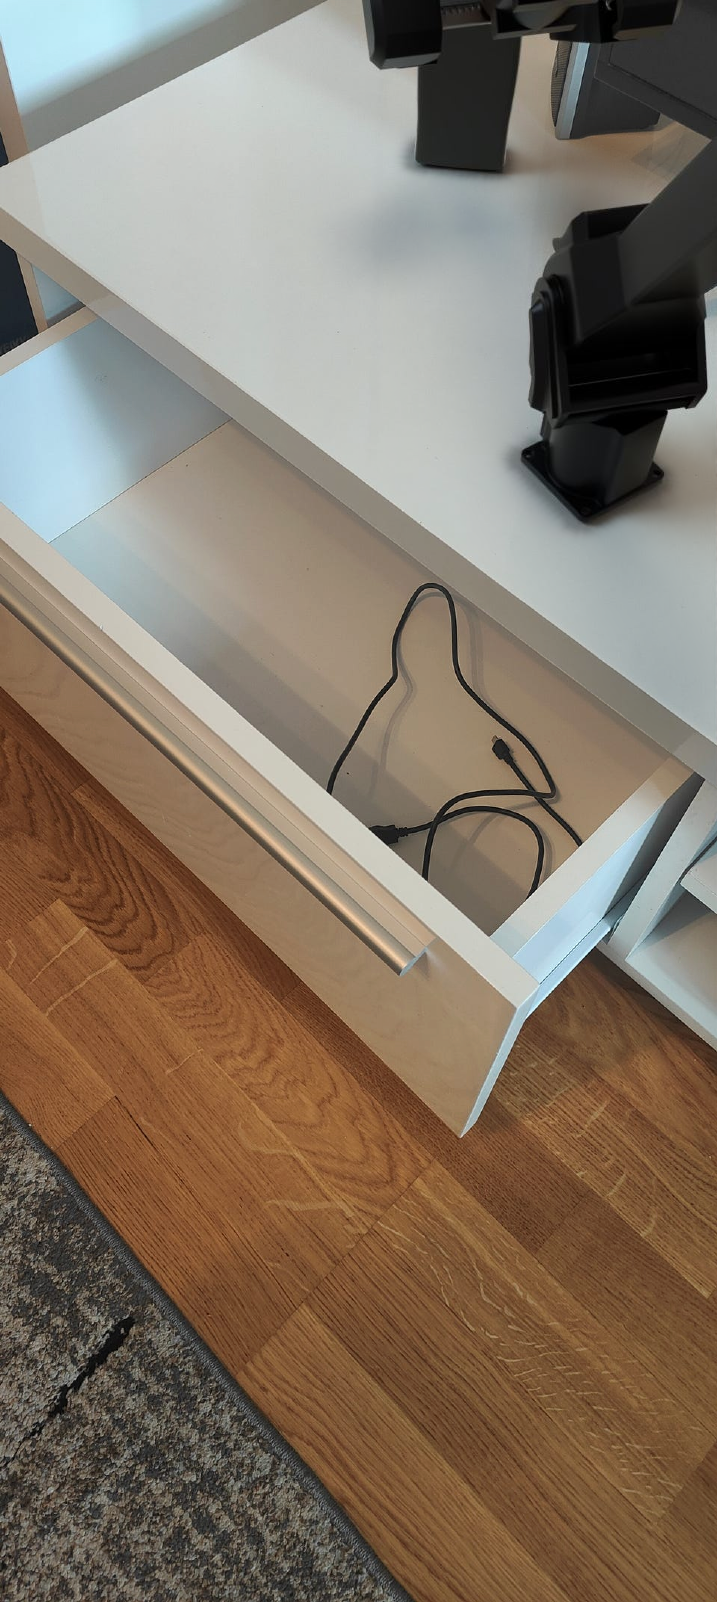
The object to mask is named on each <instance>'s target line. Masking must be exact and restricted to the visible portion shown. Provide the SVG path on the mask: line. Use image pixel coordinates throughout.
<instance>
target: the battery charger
mask: <svg viewBox="0 0 717 1602" xmlns="http://www.w3.org/2000/svg"><path fill="white" fill-rule="evenodd" d="M479 5H480V4H476V7H477V9H478V7H479ZM482 5H483V4H482ZM466 6H467V5H466ZM466 6H463V8H464V11H465V9H466ZM469 6H470V9H471V10H472V6H473V5H469ZM483 7H484V6H483ZM449 8H450V10H451V12H452V11H453V8H454V7H449ZM456 8H457V10H458V12H459V8H460V6H458V7H456ZM446 9H447V8H443V10H444V12H445V13H446ZM484 9H485V8H484ZM522 47H523V36H521V37H512V38H504V39H496V40H493V37H492V27H491V24H487V25H479V26H471V27H462V28H454V29H445V30H443V33H442V48H441V54H440V55H439V57H438V58H437V64H435V65H427V66H419V67H416V127H415V143H414V144H415V145H414V153H413V155H414V160H415V162H416V163H418V164H423V165H429V166H430V165H431V166H438V167H446V168H458V169H470V170H486V171H488V170H489V171H490V170H491V171H494V170H495V171H501V170H502V169H503V168H504V166H505V164H506V159H507V147H508V139H509V130H510V123H511V118H512V113H513V108H514V101H515V95H516V90H517V84H518V78H519V71H520V64H521V56H522V55H521V54H522Z"/></svg>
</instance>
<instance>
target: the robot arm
mask: <svg viewBox="0 0 717 1602" xmlns="http://www.w3.org/2000/svg"><path fill="white" fill-rule="evenodd" d="M361 2H362V11H363V12H362V13H363V19H364V26H365V27H364V28H365V34H366V42H367V51H368V58H369V62H371V63H372V64H373V65H374V66H375V67H376V68H377V69H379V71H383V70H391V69H398V70H402V69H409V68H410V69H411V68H417V67H419V66H427V65H435V64H437V58H438V57H439V55H440V54H441V48H442V33H443V30H445V29H454V28H462V27H471V26H479V25H487V24H491V27H492V37H493V40H496V39H504V38H512V37H521V36H522V37H528V36H536V35H544V34H548V37H549V40H550V41H555V42H564V43H565V42H567V43H578V44H592V45H605V44H613V43H621V42H630V41H636V40H639V39H645V38H652V37H653V38H654V37H660V36H662V34H664V33H665V32H666V31H667V30H668V29H669V28H670V27H672V26H673V24H674V22H675V21H676V19H678V16H679V15H680V12H681V8H682V7H681V6H682V4H683V0H361ZM476 4H480V5H479V7H478V9H477V7H476ZM482 4H483V5H482ZM466 5H467V6H466ZM469 5H473V6H472V10H471V9H470V6H469ZM458 6H460V8H459V12H458V10H457V8H456V7H458ZM463 6H466V9H465V11H464V8H463ZM483 6H484V7H483ZM449 7H454V8H453V11H452V12H451V10H450V8H449ZM443 8H447V9H446V13H445V12H444V10H443ZM484 8H485V9H484ZM551 244H552V247H553V250H554V253H552V254H551V255H550V257H548V260H547V261H546V263H545V265H544V268H543V271H542V275H541V276H540V277H539V278H538V279H537V280H536V282H535V285H534V289H533V292H532V293H531V299H530V308H529V309H528V328H529V330H528V331H529V346H528V347H529V352H528V366H529V371H530V372H529V373H530V386H529V392H528V396H527V402H528V404H529V406H530V408H531V409H534V410H536V411H538V412H540V413H541V414H542V421H541V424H540V425H541V426H540V429H539V436H540V437H541V439H540V440H539V441H537V442H535V443H532V444H531V445H529V446H527V447H525V448H523V449H522V451H521V452H520V457H519V458H520V462H521V463H523V465H524V466H525V467H526V468H527V469H528V470H529V471H530V472H531V474H533V475H534V476H535V478H536V479H538V480H539V481H540V483H542V484H543V485H544V486H545V487H546V488H547V490H548V491H550V493H551V494H553V496H554V497H555V498H556V499H557V500H559V502H560V503H561V504H562V505H564V507H565V508H566V509H567V510H568V511H569V512H570V513H571V514H572V515H573V516H574V517H575V518H576V519H577V520H578V521H579V522H581V523H589V522H591V521H593V520H595V519H597V518H598V517H600V516H602V515H604V514H605V513H607V512H609V511H612V510H613V509H616V508H617V507H619V506H621V505H623V504H625V503H626V502H628V501H630V500H631V499H633V498H636V497H637V496H640V495H641V494H643V493H645V492H646V491H649V490H650V489H652V488H654V487H656V486H657V485H659V484H661V483H662V482H663V480H664V478H665V471H664V470H663V469H662V468H661V466H659V465H658V464H657V463H656V462H655V461H654V458H655V456H656V455H655V454H656V452H657V448H658V445H659V442H660V439H661V436H662V432H663V430H664V426H665V423H666V421H667V417H668V414H669V411H671V410H678V409H683V408H684V409H685V410H691V409H695V408H696V407H697V406H698V405H699V404H700V402H701V401H702V399H703V398H704V396H706V394H707V393H708V389H709V382H708V365H707V364H708V363H707V345H706V344H707V343H706V341H707V340H706V329H705V328H706V324H705V321H706V318H707V315H708V314H707V306H706V297H705V293H707V292H708V291H709V290H711V289H712V288H713V287H714V286H716V285H717V134H716V135H715V136H714V137H713V138H712V139H711V140H710V142H708V143H707V144H706V145H705V146H704V147H703V149H701V150H700V152H699V153H697V154H696V156H694V157H693V159H692V160H691V161H689V163H688V164H687V165H686V166H685V167H684V168H682V170H681V171H679V173H677V175H676V176H675V177H674V178H673V179H672V180H671V181H670V182H669V183H668V184H667V185H666V186H665V187H664V188H663V189H662V190H661V191H660V192H659V193H658V194H657V195H656V196H655V197H654V198H653V199H652V200H651V202H647V203H646V202H645V203H639V204H632V205H631V204H630V205H624V206H617V207H609V208H600V209H593V210H586V211H581V212H580V213H579V214H578V215H576V216H575V217H574V218H573V219H571V220H570V222H569V223H568V226H567V228H566V229H565V232H564V233H563V234H562V236H561V237H554V238H552V239H551Z"/></svg>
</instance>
